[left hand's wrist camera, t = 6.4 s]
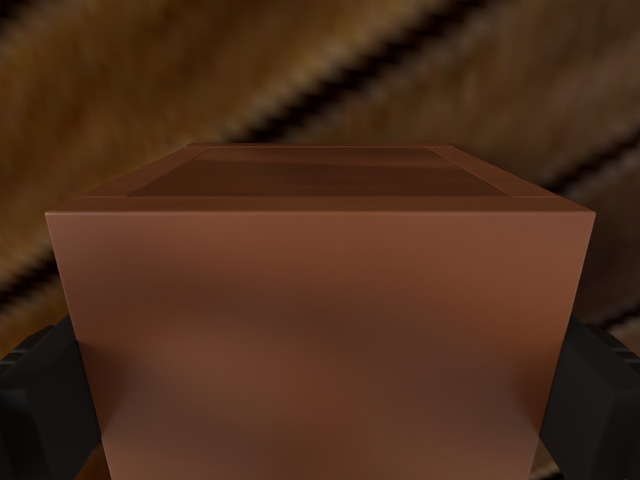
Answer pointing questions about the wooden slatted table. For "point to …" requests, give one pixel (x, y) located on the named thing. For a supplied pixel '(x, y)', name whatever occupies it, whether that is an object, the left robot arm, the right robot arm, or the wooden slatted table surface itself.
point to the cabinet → (320, 312)
